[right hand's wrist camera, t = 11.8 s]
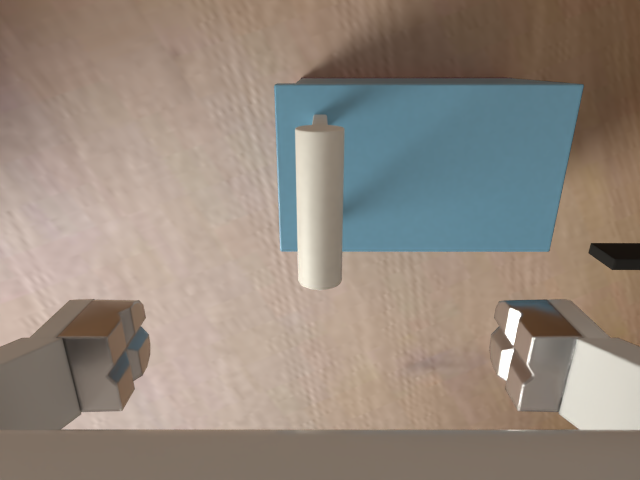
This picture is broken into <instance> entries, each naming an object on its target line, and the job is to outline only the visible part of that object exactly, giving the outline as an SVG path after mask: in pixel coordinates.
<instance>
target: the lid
mask: <svg viewBox="0 0 640 480" xmlns="http://www.w3.org/2000/svg"><path fill="white" fill-rule="evenodd" d="M583 87H584V85H583V84H574V83H296V84H275V86H274V91H275V118H276V145H277V173H278V200H279V227H280V250H281V251H298V281H299V283H300V284H301V285H302V286H304V287H306V288H309V289H314V290H326V289H331V288H334V287H336V286H338V285H339V284H340V283H341V280H342V251H408V252H548V251H549V250H550V245H551V241H552V236H553V231H554V226H555V221H556V217H557V212H558V207H559V202H560V197H561V193H562V188H563V183H564V178H565V174H566V169H567V164H568V159H569V154H570V150H571V145H572V140H573V135H574V130H575V126H576V121H577V116H578V111H579V106H580V102H581V97H582V92H583Z"/></svg>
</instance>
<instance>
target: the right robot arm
mask: <svg viewBox="0 0 640 480" xmlns="http://www.w3.org/2000/svg"><path fill="white" fill-rule="evenodd" d="M145 318H146V316H145V311H144V306H143V304H142V303H141V302H140V301H139V300H95V299H81V300H69V301H68V302H67V303H66V304H65V305H64V306H63V307H62V308H61V309H60V310H59V311H58V312H57V313H55V314H54V315H53V316H52V317H51V318H50V319H49V320H48V321H47V322H46V323H45V324H44V325H43V326H42V327H40V328H39V329H38V330H37V331H36V332H35V333H34V334H33V335H32V336H31V337H30V338H21V339H18V340H16V341H13V342H11V343H8V344H6V345H4V346H1V347H0V480H640V347H639V346H636V345H634V344H632V343H629V342H627V341H624V340H622V339H619V338H610V337H609V336H608V335H607V334H606V333H605V332H604V331H603V330H602V329H601V328H600V327H599V326H597V325H596V324H595V323H594V322H593V321H592V320H591V319H590V318H589V317H588V316H587V315H586V314H585V313H584V312H583V311H581V310H580V309H579V308H578V307H577V306H576V305H575V304H574V303H573V302H572V301H570V300H567V299H555V300H509V301H499V302H498V304H497V307H496V310H495V315H494V318H495V320H496V321H497V323H498V325H499V327H498V328H497V329H496V330H495V331H494V332H493V333H492V334H491V340H490V358H491V362H492V365H493V368H494V370H495V372H496V374H497V375H498V376H499V377H501V378H503V379H504V380H506V381H507V382H506V388H505V389H506V391H507V393H508V395H509V396H510V398H511V400H512V402H513V403H514V405H515V407H516V408H517V410H518V411H538V412H559V414H560V415H561V416H562V417H564V418H565V419H566V420H568V421H569V422H570V423H572V424H573V425H574V426H576V427H577V428H578V429H579V430H61V429H62V428H63V427H65V426H66V425H67V424H69V423H70V422H71V421H73V420H74V419H75V418H77V417H78V416H79V415H81V412H101V411H122V410H123V409H124V407H125V405H126V403H127V402H128V400H129V398H130V396H131V395H132V393H133V391H134V389H135V388H134V382H133V381H134V380H136V379H137V378H139V377H141V376H142V375H143V374H144V372H145V370H146V368H147V365H148V361H149V357H150V339H149V334H148V333H147V332H146V331H145V330H144V329H143V328H142V327H141V325H142V323H143V321H144V320H145Z"/></svg>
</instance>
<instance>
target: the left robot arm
mask: <svg viewBox="0 0 640 480" xmlns="http://www.w3.org/2000/svg"><path fill="white" fill-rule="evenodd" d="M589 254H591V255H592V256H593V257H595V258H596V259H598V260H599V261H600V262H602V263H603V264H605V265H606V266H607V267H609V268H610V269H612V270H640V243H591V245H590V249H589Z"/></svg>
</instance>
